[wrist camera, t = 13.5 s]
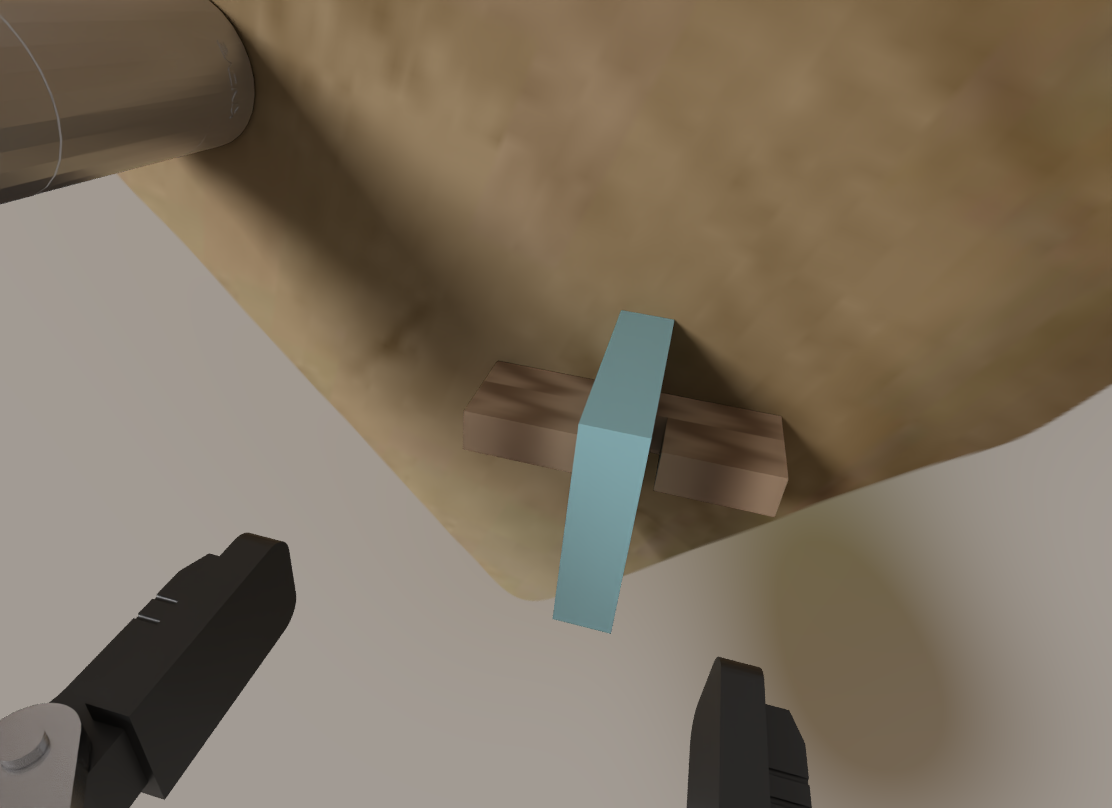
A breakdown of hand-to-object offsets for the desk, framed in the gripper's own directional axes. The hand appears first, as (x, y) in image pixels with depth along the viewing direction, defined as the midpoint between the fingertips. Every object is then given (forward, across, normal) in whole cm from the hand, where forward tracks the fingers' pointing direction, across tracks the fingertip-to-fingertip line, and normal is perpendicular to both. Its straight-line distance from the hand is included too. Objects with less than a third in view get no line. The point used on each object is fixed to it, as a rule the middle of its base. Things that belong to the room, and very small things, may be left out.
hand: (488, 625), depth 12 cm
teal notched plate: (+32, -1, +15) cm, 35 cm away
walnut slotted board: (+32, -1, +15) cm, 35 cm away
